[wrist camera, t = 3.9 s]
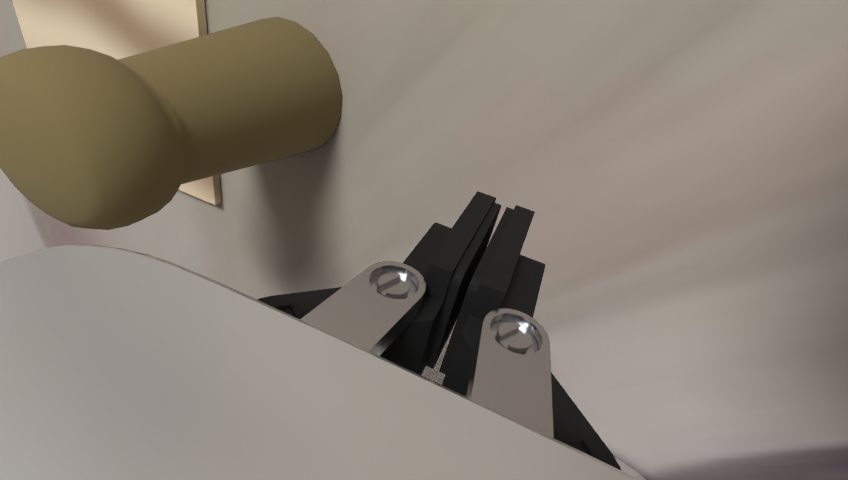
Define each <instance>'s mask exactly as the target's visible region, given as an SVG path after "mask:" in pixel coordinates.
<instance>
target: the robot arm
mask: <svg viewBox="0 0 848 480" xmlns="http://www.w3.org/2000/svg"><path fill="white" fill-rule="evenodd" d="M495 200H496V198H495V197H492V196H489V195H486V194H484V193H481V192H477V193H476V194H475V196H474V197H473V199H472V200H471V202H470V203H469V204H468V206H467V207H466V209H465V210H464V212H463V213H462V215H461V216H460V217H459V219H458V220H457V222H456V223H455V225H454V226H453V228H449V227H446V226H444V225H441V224H439V223H434V224H433V225H432V227H431V228H430V229H429V230H428V232H427V233H426V234H425V236H424V237H423V238H422V239H421V241H420V242H419V243H418V244H417V246H416V247H415V248H414V250H413V251H412V252H411V253H410V255H409V256H408V257H407V258H406V260H405V261H404V262H403V263H400V262H394V261H383V262H379V263H375V264H373V265H371V266H369V267H368V268H367V269H365V270H364V271H363V272H361V273H360V274H359V275H357V276H356V277H355V278H354V279H352V280H351V281H350V282H348V283H347V284H346V285H344V286H343V287H340V288H332V289H324V290H316V291H308V292H300V293H292V294H284V295H276V296H269V297H265V298H260V299H258V300H257V299H255V298H252V297H250V296H248V295H246V294H244V293H241V292H239V291H237V290H235V289H233V288H230V287H228V286H226V285H224V284H222V283H220V282H217V281H215V280H212V279H210V278H208V277H205V276H203V275H200V274H198V273H196V272H193V271H191V270H188V269H186V268H184V267H181V266H179V265H176V264H174V263H172V262H169V261H166V260H163V259H160V258H157V257H154V256H150V255H147V254H143V253H138V252H134V251H130V250H125V249H120V248H112V247H104V246H96V245H60V246H53V247H48V248H44V249H40V250H36V251H33V252H30V253H27V254H24V255H21V256H18V257H15V258H12V259H9V260H6V261H3V262H1V263H0V480H646V479H645V478H644V477H643V476H641V475H640V474H639V473H638V472H637V471H635V470H634V469H632V468H631V467H629V466H628V465H626V464H625V463H623V462H622V461H620V460H619V459H617V458H615V457H614V456H613V454H612V453H611V452H610V450H609V449H608V448H607V446H606V445H605V444H604V442H603V441H602V440H601V438H600V437H599V436H598V434H597V433H596V432H595V430H594V429H593V428H592V426H591V425H590V424H589V422H588V421H587V420H586V418H585V417H584V416H583V414H582V413H581V412H580V410H579V409H578V408H577V406H576V405H575V404H574V402H573V401H572V400H571V398H570V397H569V396H568V394H567V393H566V392H565V390H564V389H563V388H562V386H561V385H560V384H559V382H558V381H557V380H556V378H555V377H554V376H553V374H552V373H551V360H550V342H549V338H548V335H547V333H546V331H545V330H544V328H543V327H542V326H541V325H540V324H539V323H538V322H537V321H536V320H535V319H533V314H534V310H535V306H536V302H537V297H538V293H539V289H540V285H541V281H542V277H543V273H544V269H545V264H543V263H540V262H538V261H535V260H532V259H530V258H527V257H525V256H522V255H520V252H521V249H522V246H523V243H524V241H525V238H526V235H527V232H528V229H529V227H530V224H531V221H532V218H533V215H534V211H531V210H528V209H525V208H523V207H520V206H517V205H516V206H515V209H514V210H513V209H510V208H508V207H507V208H506V210H505V212H504V214H503V216H502V218H501V220H500V222H499V224H498V226H497V228H496V230H495V232H494V234H493V236H492V238H491V240H490V242H489V239H490V237H491V234H492V231H493V228H494V225H495V222H496V219H497V217H498V214H499V211H500V208H501V205H499V204H496V203H495ZM488 242H489V244H488ZM487 245H488V246H487ZM456 320H457V321H456ZM455 322H456V324H455ZM454 324H455V327H454V330H453V333H452V336H451V339H450V341H449V344H448V347H447V350H446V353H445V356H444V359H443V362H442V365H441V368H440V371H439V372H441V373H444V374H446V375H445V378H444V381H443V384H442V385H443V386H442V385H440V384H438V383H436V382H434V381H431V380H429V379H427V378H425V377H423V376H421V374H422V372H423V370H424V368H425V367H426V366H428V367H431V368H434V366H435V364H436V362H437V360H438V358H439V356H440V354H441V352H442V349H443V347H444V345H445V343H446V341H447V339H448V337H449V335H450V333H451V331H452V329H453V326H454Z"/></svg>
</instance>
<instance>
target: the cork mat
mask: <svg viewBox="0 0 848 480" xmlns="http://www.w3.org/2000/svg"><path fill="white" fill-rule="evenodd" d="M12 1H13V5H14V8H15V11H16V14H17V17H18V21H19V24H20V27H21V30H22V33H23V37H24V40H25V43H26V46H27V49H28V48H35V47H41V46H57V45H68V46H74V47H80V48H87V49H91V50H94V51H97V52H100V53H103V54H106V55H109V56H111V57H113V58H115V59H117V60H118V59H122V58H125V57H129V56H132V55H136V54H140V53H143V52H147V51H150V50H154V49H157V48H161V47H165V46H168V45H172V44H175V43H179V42H182V41H186V40H190V39H193V38H197V37H200V36H204V35H207V25H206V13H205V1H204V0H12ZM178 190H180V191H183V192H185V193H188V194H190V195H192V196H195V197H197V198H199V199H202V200H204V201H207V202H209V203H211V204H214V205H217V204H219V203H221V202H222V199H221V187H220V176H219V175H215V176H211V177H208V178H204V179H200V180H196V181H192V182H189V183H185V184H181V185H180V187H179V189H178Z"/></svg>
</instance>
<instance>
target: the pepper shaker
mask: <svg viewBox="0 0 848 480" xmlns="http://www.w3.org/2000/svg"><path fill="white" fill-rule="evenodd" d="M341 106H342V93H341V87H340V82H339V77H338V73H337V71H336V69H335V67H334V64H333V62H332V60H331V58H330V56H329V54H328V52H327V51H326V49H325V48H324V47H323V46H322V44H321V43H320V42H319V41H318V40H317V38H316V37H315V36H314V35H313V34H312V33H311V32H309V31H308V30H306V29H305V28H304V27H302V26H301V25H299V24H298V23H296V22H294V21H290V20H286V19H283V18H279V17H275V18H268V19H261V20H257V21H254V22H250V23H247V24H243V25H240V26H236V27H232V28H229V29H225V30H222V31H218V32H215V33H211V34H207V35H204V36H200V37H197V38H193V39H190V40H186V41H182V42H179V43H175V44H172V45H168V46H165V47H161V48H157V49H154V50H150V51H147V52H143V53H140V54H136V55H132V56H129V57H125V58H122V59H118V60H117V59H115V58H113V57H111V56H109V55H106V54H103V53H100V52H97V51H94V50H91V49H87V48H80V47H74V46H68V45H57V46H41V47H35V48H28V49H22V50H20V51H17V52H14V53H11V54H8V55H5V56H3V57H1V58H0V168H1V169H2V171H3V172H4V173H5V174H6V176H7V177H8V178H9V179H10V181H11V182H12V183H13V185H14V186H15V187H16V188H17V189H18V190H19V191H20V192H21V193H22V194H23V195H24V196H25V197H26V198H27V199H28V200H29V201H30V202H31V203H33V204H34V205H35V206H37V207H38V208H39V209H41V210H42V211H43V212H45V213H46V214H48V215H50V216H52V217H53V218H55V219H57V220H59V221H62V222H64V223H66V224H68V225H70V226H72V227H80V228H89V229H105V230H110V229H114V228H119V227H124V226H128V225H131V224H133V223H135V222H138V221H140V220H142V219H144V218H146V217H148V216H150V215H152V214H154V213H156V212H158V211H159V210H161V209H162V208H163V207H164V206H165V205H166V204H167V203H169V202H170V201H171V200H172V198H173V197H174V195H175V194H176V192H177V191H178V189H179V187H180V185H181V184H185V183H189V182H192V181H196V180H200V179H204V178H208V177H211V176H215V175H219V174H223V173H227V172H231V171H234V170H238V169H242V168H246V167H250V166H253V165H257V164H261V163H265V162H269V161H272V160H276V159H280V158H284V157H288V156H291V155H295V154H299V153H303V152H307V151H310V150H313V149H315V148H317V147H320V146H322V145H324V144H325V143H326V141H327V140H328V139H329V138H330V137H331V136H332V135H333V134H334V132H335V130H336V127H337V125H338V122H339V120H340V117H341Z"/></svg>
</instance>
